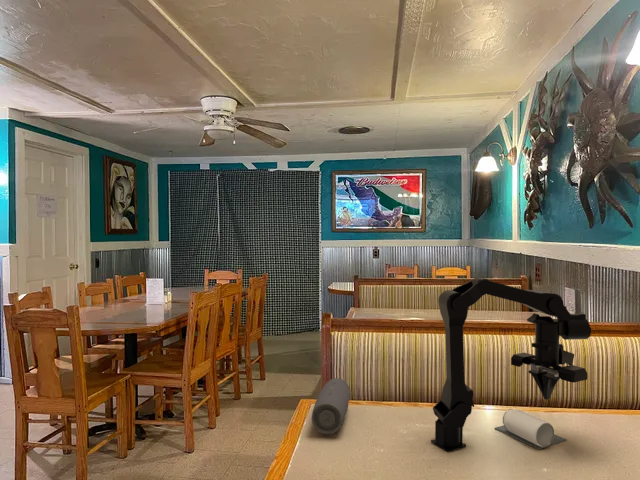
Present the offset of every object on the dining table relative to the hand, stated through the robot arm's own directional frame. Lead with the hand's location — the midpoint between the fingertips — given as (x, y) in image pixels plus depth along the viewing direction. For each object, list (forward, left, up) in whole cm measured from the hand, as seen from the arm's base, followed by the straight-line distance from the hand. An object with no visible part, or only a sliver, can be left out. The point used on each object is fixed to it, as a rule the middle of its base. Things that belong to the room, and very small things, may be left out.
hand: (546, 399), depth 124 cm
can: (-4, -3, -8) cm, 9 cm away
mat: (0, +5, -11) cm, 12 cm away
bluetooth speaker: (-43, +38, -12) cm, 59 cm away
